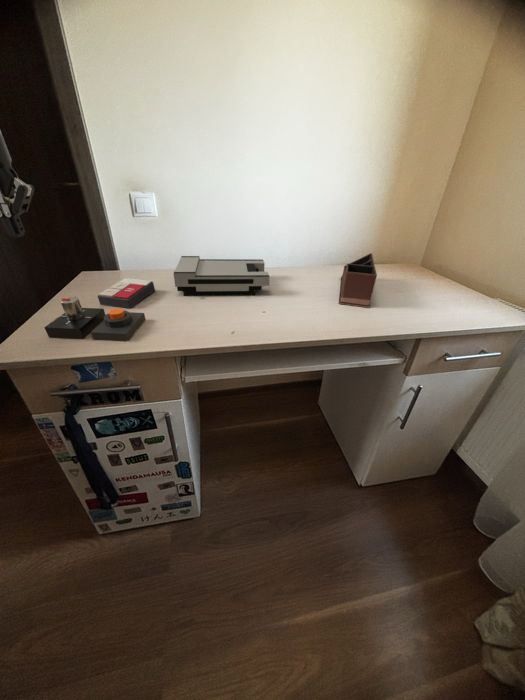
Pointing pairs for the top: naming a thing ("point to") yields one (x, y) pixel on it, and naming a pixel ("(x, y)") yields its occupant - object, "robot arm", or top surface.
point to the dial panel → (75, 324)
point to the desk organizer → (358, 282)
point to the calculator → (126, 293)
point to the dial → (72, 308)
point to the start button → (116, 314)
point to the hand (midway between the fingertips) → (17, 236)
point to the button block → (118, 327)
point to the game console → (219, 276)
